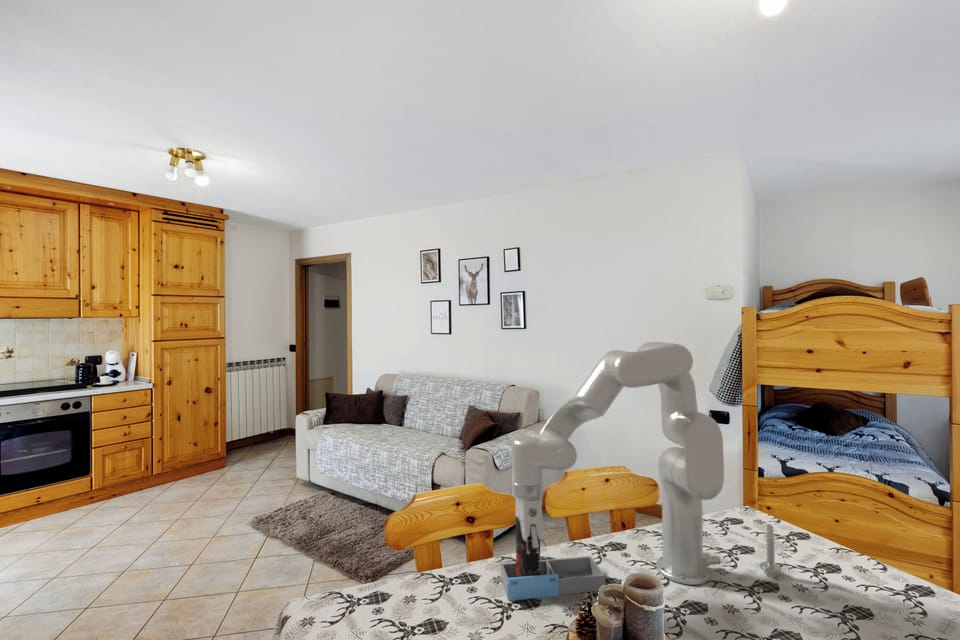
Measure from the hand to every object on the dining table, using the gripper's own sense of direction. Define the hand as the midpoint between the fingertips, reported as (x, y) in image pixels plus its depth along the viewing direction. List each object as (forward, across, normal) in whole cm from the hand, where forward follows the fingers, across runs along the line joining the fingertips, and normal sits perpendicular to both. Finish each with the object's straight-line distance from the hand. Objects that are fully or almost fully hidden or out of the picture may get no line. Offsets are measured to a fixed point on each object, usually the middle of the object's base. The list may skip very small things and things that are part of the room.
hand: (528, 561), depth 110 cm
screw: (+6, -5, -62) cm, 62 cm away
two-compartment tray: (+6, 0, -6) cm, 8 cm away
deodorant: (+5, 0, 0) cm, 5 cm away
